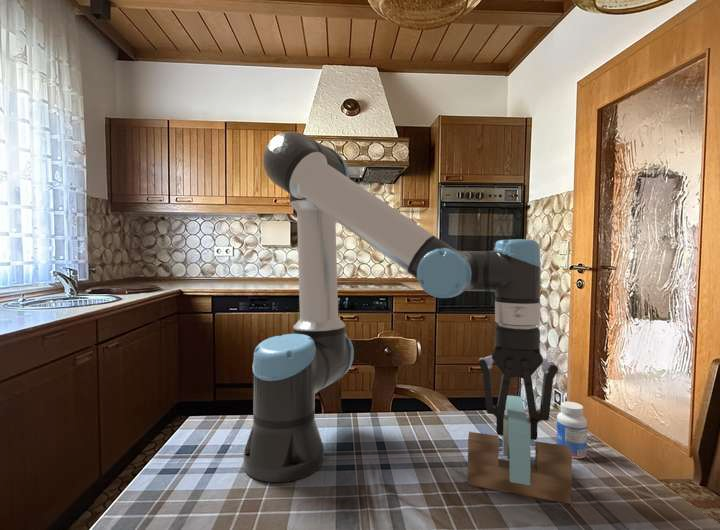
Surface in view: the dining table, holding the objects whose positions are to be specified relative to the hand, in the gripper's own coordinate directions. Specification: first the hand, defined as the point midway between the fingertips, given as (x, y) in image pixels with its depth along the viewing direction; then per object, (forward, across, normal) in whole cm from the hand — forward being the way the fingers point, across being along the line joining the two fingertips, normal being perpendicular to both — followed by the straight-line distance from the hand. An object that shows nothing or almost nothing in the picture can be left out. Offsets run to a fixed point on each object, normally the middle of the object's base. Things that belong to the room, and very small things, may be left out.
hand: (516, 453), depth 70 cm
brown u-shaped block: (+4, 0, -4) cm, 6 cm away
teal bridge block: (0, 0, 0) cm, 0 cm away
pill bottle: (+4, +11, +13) cm, 17 cm away
